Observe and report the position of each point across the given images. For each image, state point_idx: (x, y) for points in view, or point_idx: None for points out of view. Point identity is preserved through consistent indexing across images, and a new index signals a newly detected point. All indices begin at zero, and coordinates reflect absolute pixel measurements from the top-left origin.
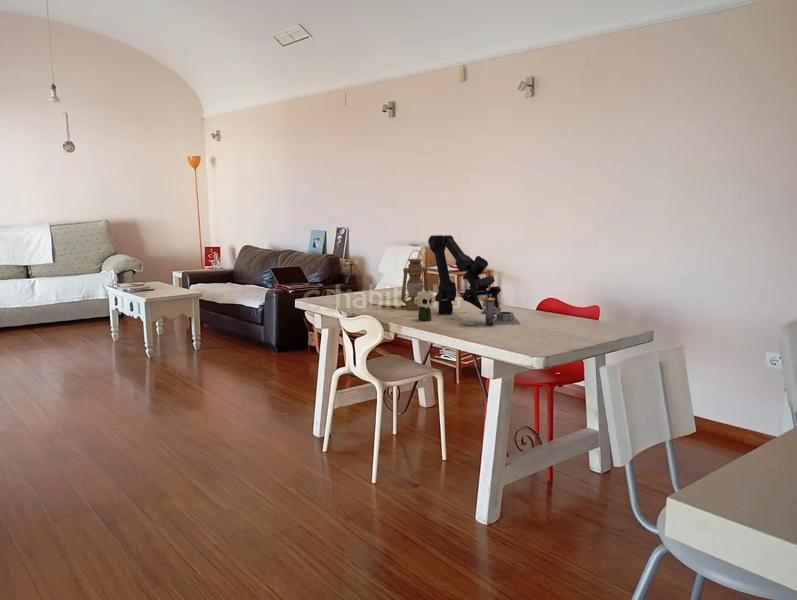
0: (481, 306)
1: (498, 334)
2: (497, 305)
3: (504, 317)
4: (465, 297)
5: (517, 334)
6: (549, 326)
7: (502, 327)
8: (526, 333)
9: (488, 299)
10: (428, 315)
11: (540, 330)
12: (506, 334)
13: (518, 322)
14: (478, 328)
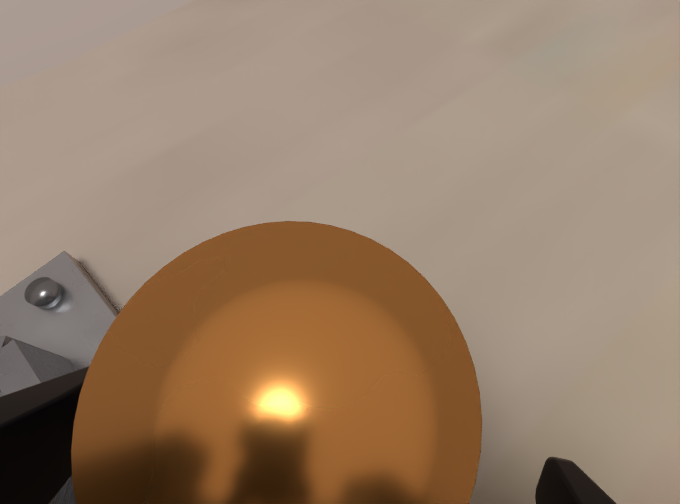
0: (587, 491)
1: (565, 135)
2: None
3: None
4: None
5: (439, 67)
6: (36, 85)
7: None
8: (363, 53)
9: (449, 337)
10: None
11: (209, 54)
12: (509, 104)
13: (73, 260)
14: (568, 414)
